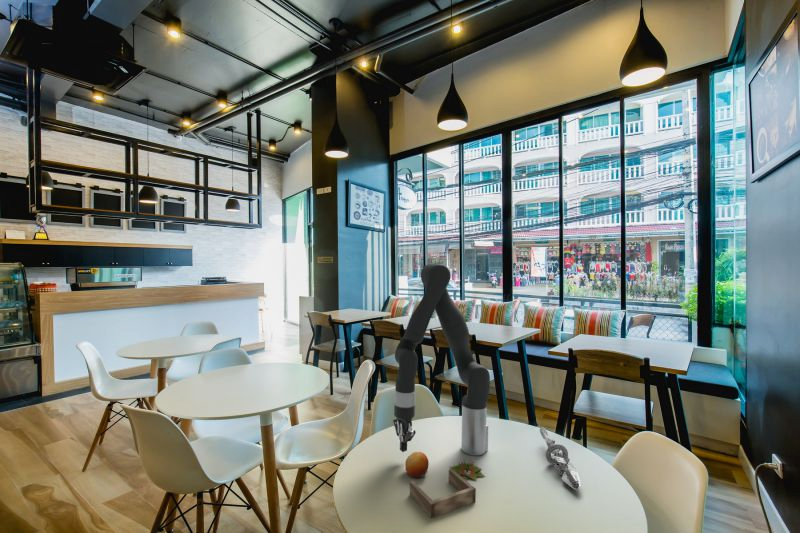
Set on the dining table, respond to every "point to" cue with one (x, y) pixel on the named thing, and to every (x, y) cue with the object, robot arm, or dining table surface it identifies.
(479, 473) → the lily flower
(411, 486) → the brown wooden u-shaped frame
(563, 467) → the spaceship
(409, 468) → the fruit
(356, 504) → the dining table surface
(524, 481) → the dining table surface
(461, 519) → the dining table surface
